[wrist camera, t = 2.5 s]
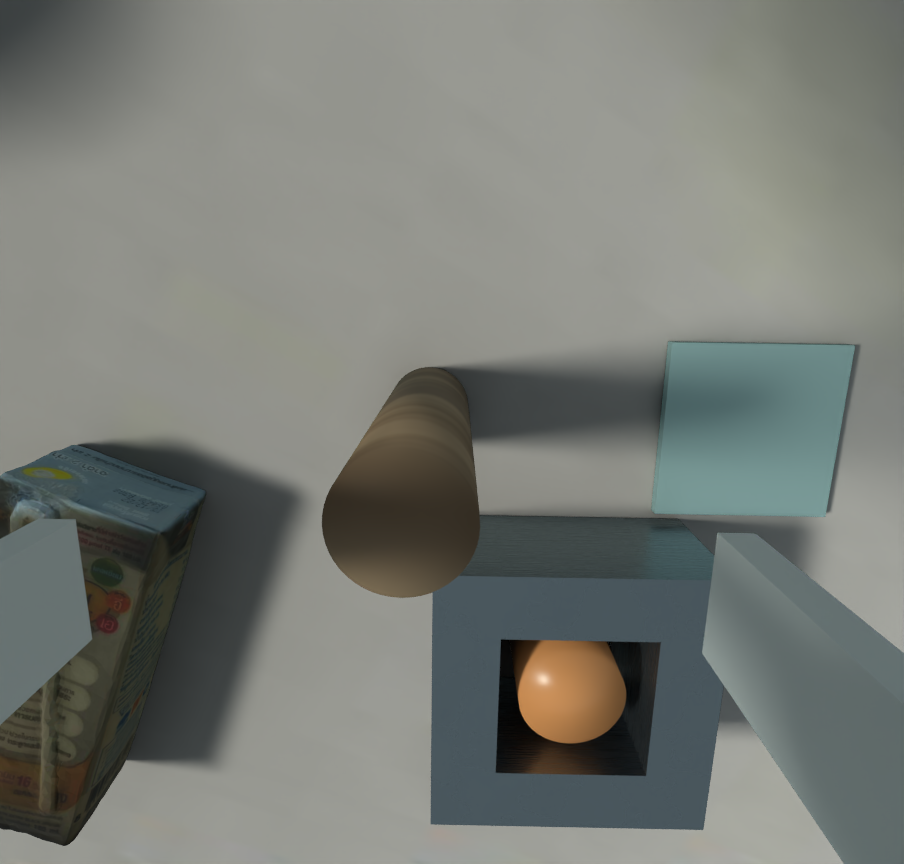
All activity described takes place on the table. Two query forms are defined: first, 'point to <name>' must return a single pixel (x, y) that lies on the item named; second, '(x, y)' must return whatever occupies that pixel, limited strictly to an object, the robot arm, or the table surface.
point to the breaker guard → (576, 619)
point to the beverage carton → (93, 631)
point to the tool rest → (750, 428)
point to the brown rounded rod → (408, 492)
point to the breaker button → (567, 688)
